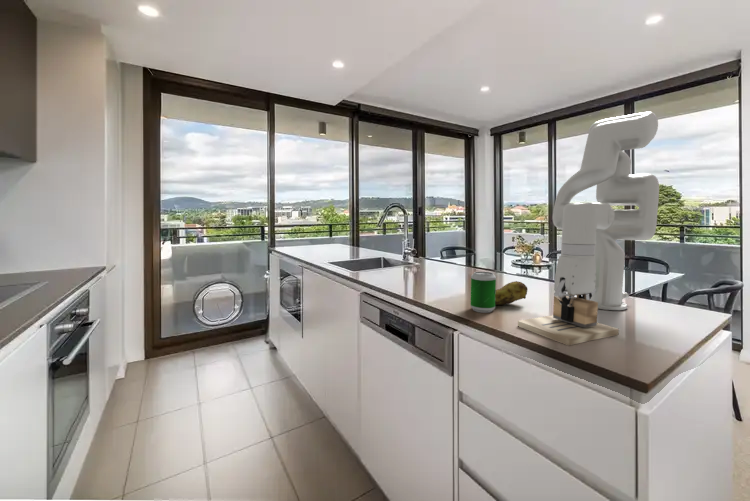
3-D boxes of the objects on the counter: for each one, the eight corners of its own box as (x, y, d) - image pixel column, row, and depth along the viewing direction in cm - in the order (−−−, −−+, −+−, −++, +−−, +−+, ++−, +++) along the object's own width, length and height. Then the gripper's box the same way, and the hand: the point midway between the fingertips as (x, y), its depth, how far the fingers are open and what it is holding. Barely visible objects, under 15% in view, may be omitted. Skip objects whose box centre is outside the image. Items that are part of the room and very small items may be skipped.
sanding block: (564, 315, 94) (565, 294, 93) (596, 325, 85) (598, 302, 85) (553, 317, 92) (554, 296, 91) (584, 327, 84) (585, 304, 83)
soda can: (496, 314, 103) (497, 275, 102) (471, 312, 104) (472, 274, 103) (493, 307, 110) (494, 271, 109) (469, 306, 112) (470, 270, 110)
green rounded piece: (485, 300, 119) (486, 278, 118) (524, 302, 116) (525, 279, 115) (487, 306, 111) (488, 283, 110) (529, 309, 108) (530, 284, 107)
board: (564, 318, 98) (564, 313, 98) (618, 334, 84) (618, 328, 84) (517, 326, 91) (518, 320, 91) (568, 345, 78) (568, 339, 77)
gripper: (585, 248, 93) (582, 312, 95) (541, 250, 87) (538, 319, 89) (613, 250, 87) (609, 319, 88) (568, 253, 80) (564, 328, 82)
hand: (574, 318), depth 89 cm, fingers closed on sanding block, 4 cm apart
